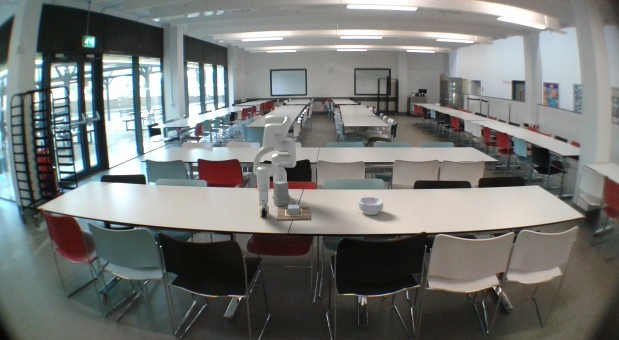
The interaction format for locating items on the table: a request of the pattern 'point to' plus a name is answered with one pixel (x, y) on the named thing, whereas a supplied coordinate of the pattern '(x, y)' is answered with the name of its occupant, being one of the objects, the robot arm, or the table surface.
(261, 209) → the maple cube
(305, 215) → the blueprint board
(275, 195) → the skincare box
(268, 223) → the table surface
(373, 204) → the paper bowls
